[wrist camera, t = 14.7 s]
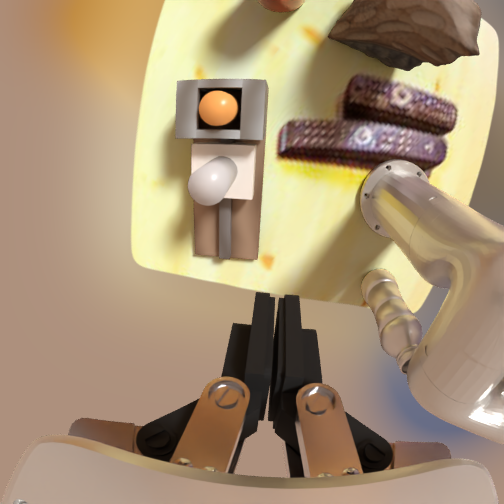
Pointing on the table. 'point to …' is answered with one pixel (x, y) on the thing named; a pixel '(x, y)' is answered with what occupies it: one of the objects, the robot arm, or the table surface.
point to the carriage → (222, 171)
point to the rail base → (239, 207)
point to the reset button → (219, 108)
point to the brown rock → (411, 30)
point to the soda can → (281, 5)
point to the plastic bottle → (392, 317)
